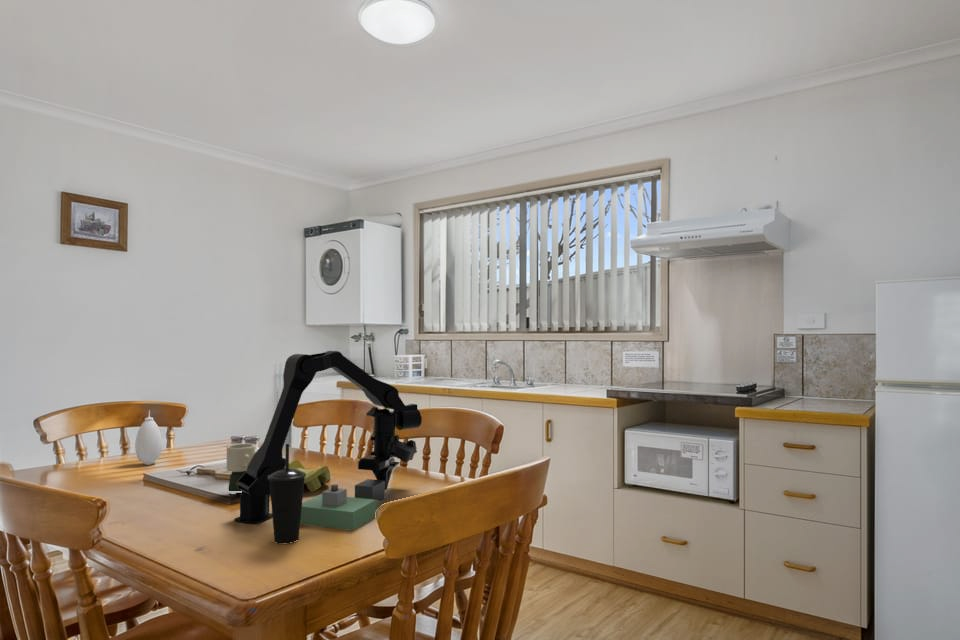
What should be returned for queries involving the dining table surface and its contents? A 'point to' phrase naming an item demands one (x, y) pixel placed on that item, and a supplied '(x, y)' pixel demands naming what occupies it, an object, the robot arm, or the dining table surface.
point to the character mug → (238, 462)
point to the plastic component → (312, 475)
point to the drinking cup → (286, 501)
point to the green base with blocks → (337, 510)
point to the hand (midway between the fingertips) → (384, 490)
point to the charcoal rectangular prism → (371, 489)
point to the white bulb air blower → (148, 442)
